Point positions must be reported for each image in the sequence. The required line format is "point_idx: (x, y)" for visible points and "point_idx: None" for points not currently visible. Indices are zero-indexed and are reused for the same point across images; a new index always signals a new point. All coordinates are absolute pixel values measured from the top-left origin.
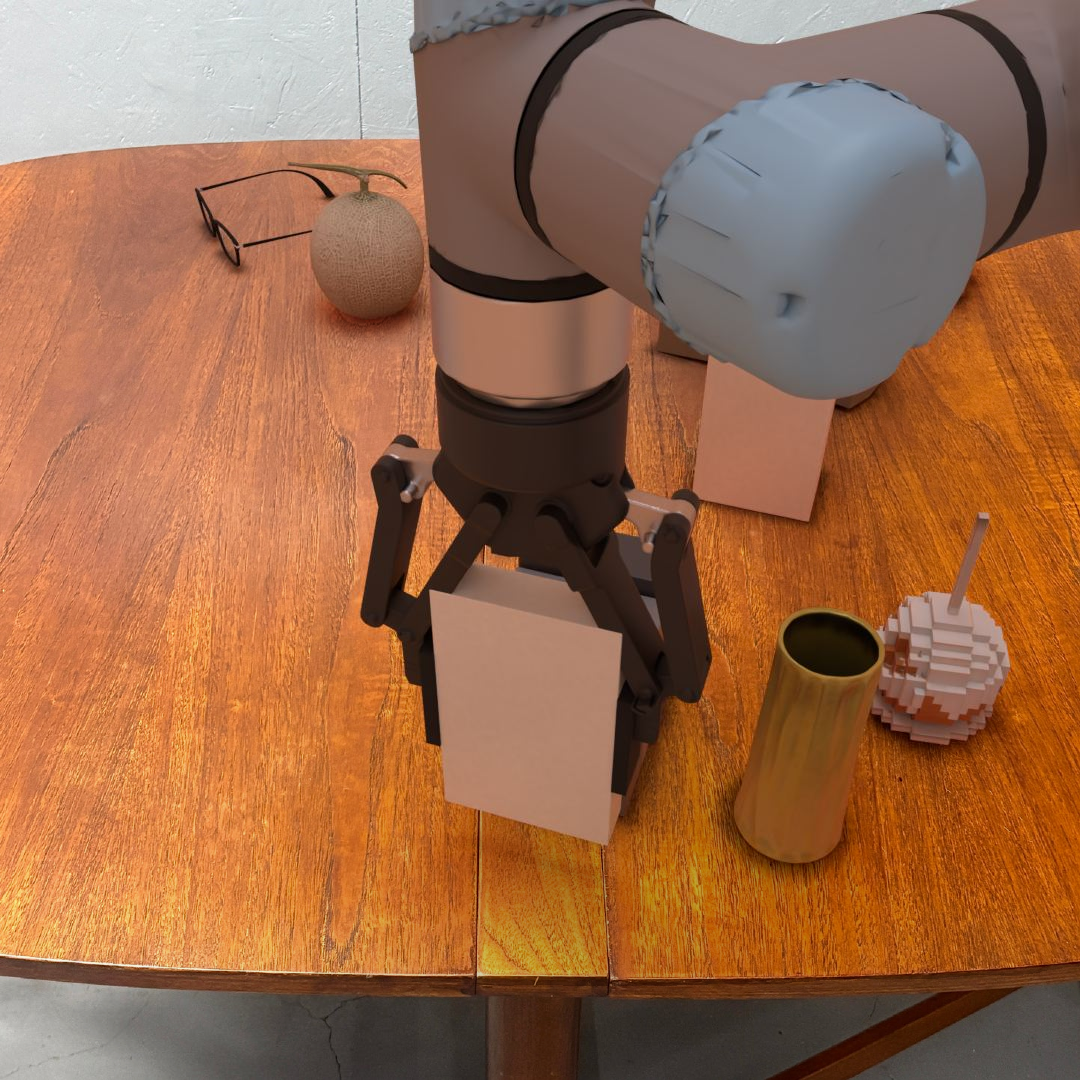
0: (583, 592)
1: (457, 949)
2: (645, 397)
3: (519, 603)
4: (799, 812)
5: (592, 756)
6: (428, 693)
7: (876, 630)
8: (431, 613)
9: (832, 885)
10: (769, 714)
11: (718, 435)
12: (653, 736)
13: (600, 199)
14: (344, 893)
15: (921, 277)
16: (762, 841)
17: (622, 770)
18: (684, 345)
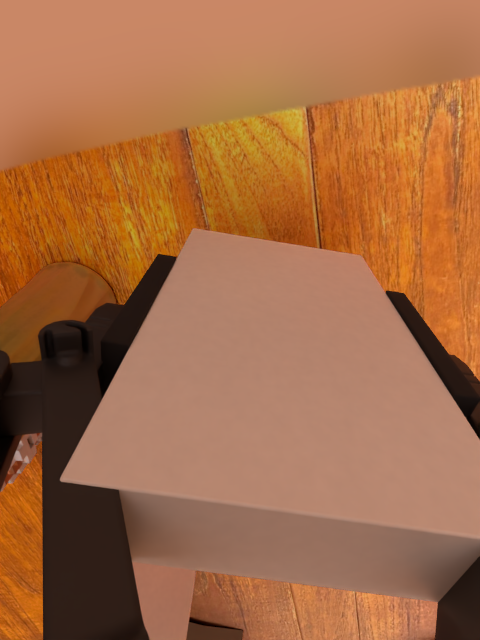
0: (126, 622)
1: (326, 126)
2: (245, 601)
3: (321, 531)
4: (33, 291)
5: (192, 285)
6: (430, 341)
7: (22, 460)
8: None
9: (28, 247)
10: None
11: (176, 600)
12: (101, 311)
13: None
14: (440, 168)
15: None
16: (83, 274)
17: (153, 272)
18: (224, 638)
